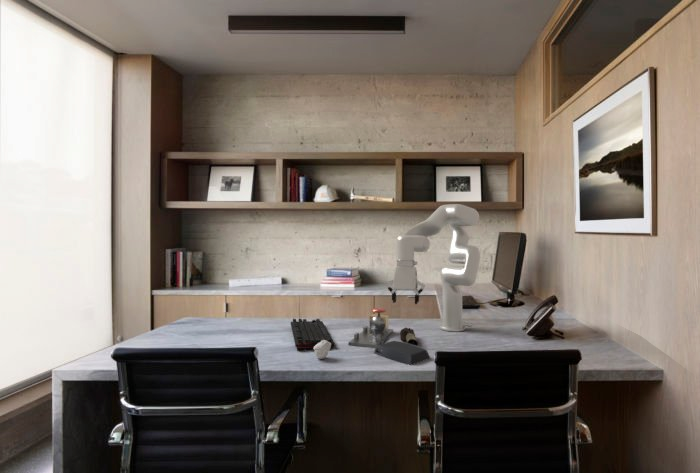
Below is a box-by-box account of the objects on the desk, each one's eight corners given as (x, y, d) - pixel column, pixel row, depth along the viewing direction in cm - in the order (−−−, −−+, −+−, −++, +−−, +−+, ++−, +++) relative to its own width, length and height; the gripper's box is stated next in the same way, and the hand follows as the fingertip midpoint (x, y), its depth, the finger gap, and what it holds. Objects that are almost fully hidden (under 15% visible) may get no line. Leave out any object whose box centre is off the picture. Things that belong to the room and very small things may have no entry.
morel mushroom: (418, 349, 165) (418, 335, 165) (402, 349, 166) (402, 336, 165) (413, 337, 183) (413, 325, 183) (399, 337, 183) (399, 325, 183)
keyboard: (334, 350, 166) (334, 338, 166) (295, 352, 162) (295, 340, 162) (322, 326, 207) (322, 316, 207) (290, 328, 204) (290, 318, 204)
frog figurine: (333, 359, 151) (333, 341, 151) (315, 362, 149) (315, 343, 149) (328, 355, 157) (328, 337, 157) (311, 357, 155) (311, 339, 155)
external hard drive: (394, 348, 168) (394, 338, 168) (431, 359, 153) (431, 348, 153) (372, 354, 159) (372, 344, 159) (409, 366, 144) (409, 355, 144)
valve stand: (393, 331, 193) (393, 308, 193) (377, 347, 166) (377, 321, 166) (368, 329, 198) (368, 307, 198) (348, 345, 171) (348, 319, 171)
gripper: (426, 263, 174) (426, 302, 175) (388, 262, 180) (388, 300, 180) (423, 265, 167) (423, 305, 168) (384, 264, 173) (384, 303, 173)
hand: (405, 302), depth 174 cm, fingers open, 9 cm apart
